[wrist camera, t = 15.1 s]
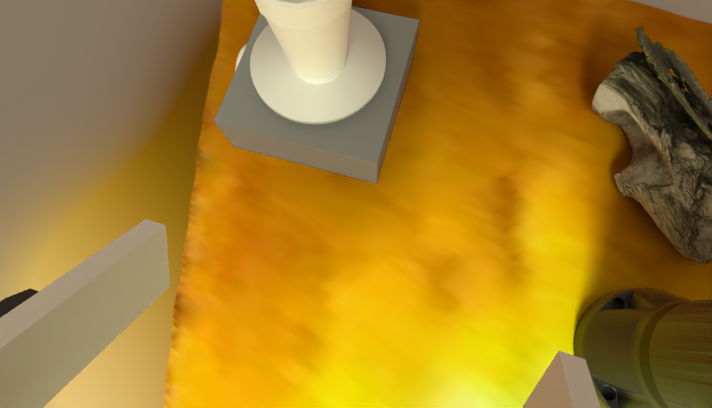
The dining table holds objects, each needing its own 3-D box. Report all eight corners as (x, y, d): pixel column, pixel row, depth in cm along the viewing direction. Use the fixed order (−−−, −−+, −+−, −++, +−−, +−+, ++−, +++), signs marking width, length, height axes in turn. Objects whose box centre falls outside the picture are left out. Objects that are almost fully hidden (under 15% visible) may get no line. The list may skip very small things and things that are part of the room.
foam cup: (308, 110, 44) (283, 28, 32) (263, 55, 47) (224, -41, 34) (375, 65, 46) (377, -31, 33) (329, 14, 48) (314, -94, 36)
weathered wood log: (574, 96, 59) (537, 71, 48) (672, 35, 51) (655, -11, 40) (681, 276, 50) (666, 295, 39) (820, 236, 42) (849, 247, 31)
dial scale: (414, 55, 56) (421, 8, 48) (376, 183, 51) (377, 155, 43) (275, 25, 59) (258, -26, 50) (226, 144, 54) (198, 110, 45)
